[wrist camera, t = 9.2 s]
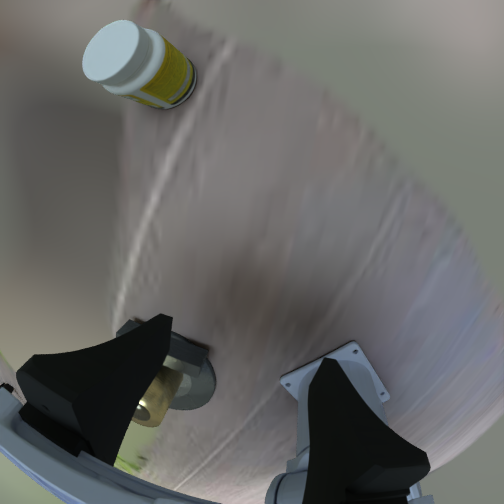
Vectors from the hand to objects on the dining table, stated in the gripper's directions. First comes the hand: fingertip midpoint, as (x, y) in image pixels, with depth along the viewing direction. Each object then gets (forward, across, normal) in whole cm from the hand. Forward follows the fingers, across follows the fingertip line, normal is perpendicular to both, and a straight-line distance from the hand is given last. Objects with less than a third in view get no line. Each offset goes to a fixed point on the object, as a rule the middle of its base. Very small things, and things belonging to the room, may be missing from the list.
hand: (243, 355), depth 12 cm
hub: (+9, +7, +13) cm, 17 cm away
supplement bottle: (+11, +11, -13) cm, 20 cm away
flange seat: (+10, +7, +14) cm, 18 cm away
